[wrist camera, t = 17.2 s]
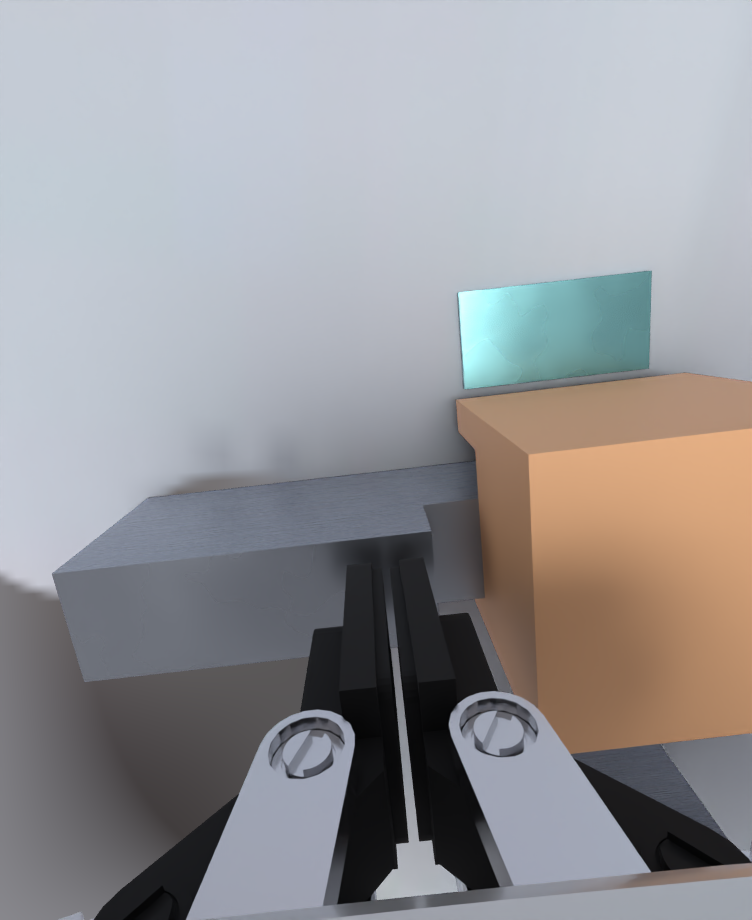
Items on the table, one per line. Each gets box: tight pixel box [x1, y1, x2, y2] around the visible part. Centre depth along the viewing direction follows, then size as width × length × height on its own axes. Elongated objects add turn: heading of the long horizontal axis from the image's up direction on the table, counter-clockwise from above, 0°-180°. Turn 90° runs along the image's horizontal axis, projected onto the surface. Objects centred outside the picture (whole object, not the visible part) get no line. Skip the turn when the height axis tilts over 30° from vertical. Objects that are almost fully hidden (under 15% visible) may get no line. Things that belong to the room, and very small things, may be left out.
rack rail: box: [52, 271, 652, 682], centre depth 13 cm, size 10×20×8 cm, turn 96°
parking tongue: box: [456, 744, 727, 892], centre depth 18 cm, size 3×8×6 cm, turn 96°
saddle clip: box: [456, 373, 752, 754], centre depth 13 cm, size 6×7×7 cm
